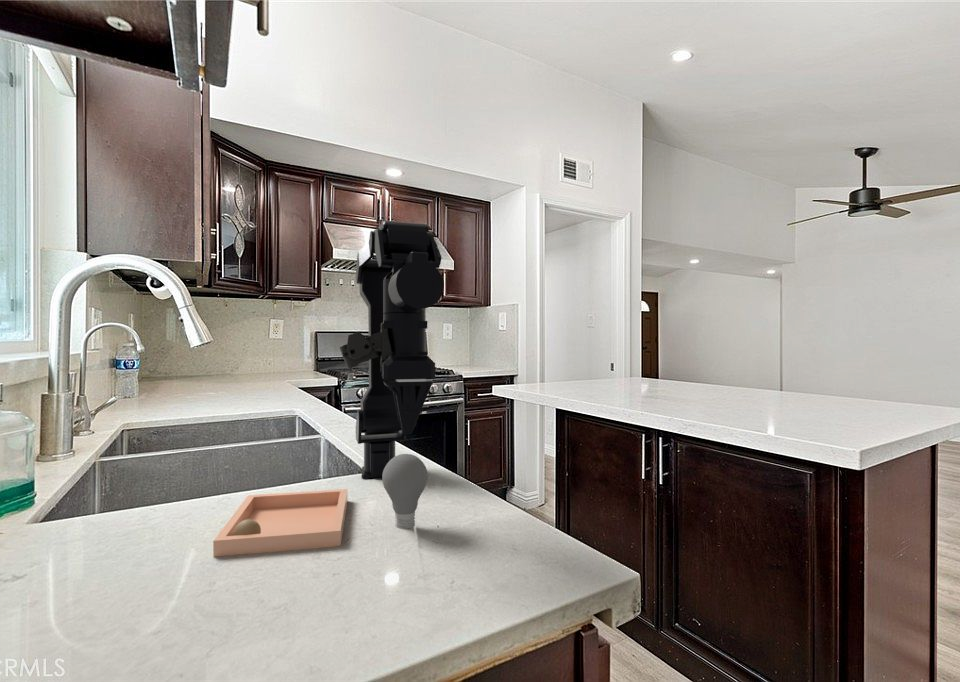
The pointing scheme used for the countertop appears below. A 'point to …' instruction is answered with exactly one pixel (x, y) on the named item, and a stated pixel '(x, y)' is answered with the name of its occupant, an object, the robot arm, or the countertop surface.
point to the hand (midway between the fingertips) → (405, 428)
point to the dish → (286, 522)
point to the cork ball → (247, 528)
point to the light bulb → (404, 486)
